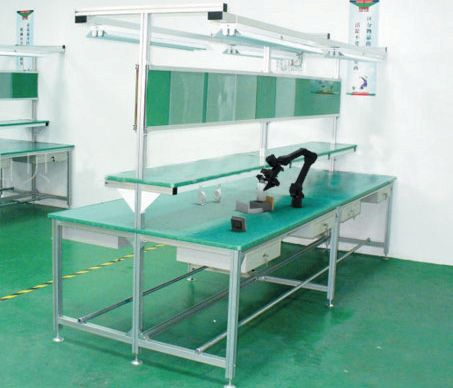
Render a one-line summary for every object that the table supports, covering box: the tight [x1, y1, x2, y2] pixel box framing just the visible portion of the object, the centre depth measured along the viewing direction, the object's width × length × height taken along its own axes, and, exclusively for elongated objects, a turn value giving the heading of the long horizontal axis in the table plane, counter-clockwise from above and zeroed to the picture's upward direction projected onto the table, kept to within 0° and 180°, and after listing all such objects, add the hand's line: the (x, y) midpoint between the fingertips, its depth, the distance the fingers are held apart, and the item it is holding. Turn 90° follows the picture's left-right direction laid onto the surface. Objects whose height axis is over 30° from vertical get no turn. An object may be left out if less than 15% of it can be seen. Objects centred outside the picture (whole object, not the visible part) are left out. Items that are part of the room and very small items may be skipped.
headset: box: [197, 183, 222, 206], centre depth 435 cm, size 20×7×18 cm, turn 138°
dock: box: [235, 199, 265, 215], centre depth 417 cm, size 13×13×6 cm
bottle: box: [256, 180, 268, 201], centre depth 420 cm, size 6×6×13 cm
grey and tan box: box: [248, 194, 275, 212], centre depth 422 cm, size 11×12×8 cm
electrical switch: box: [230, 214, 247, 232], centre depth 361 cm, size 8×5×8 cm, turn 60°
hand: (260, 189), depth 419 cm, fingers closed on bottle, 6 cm apart
